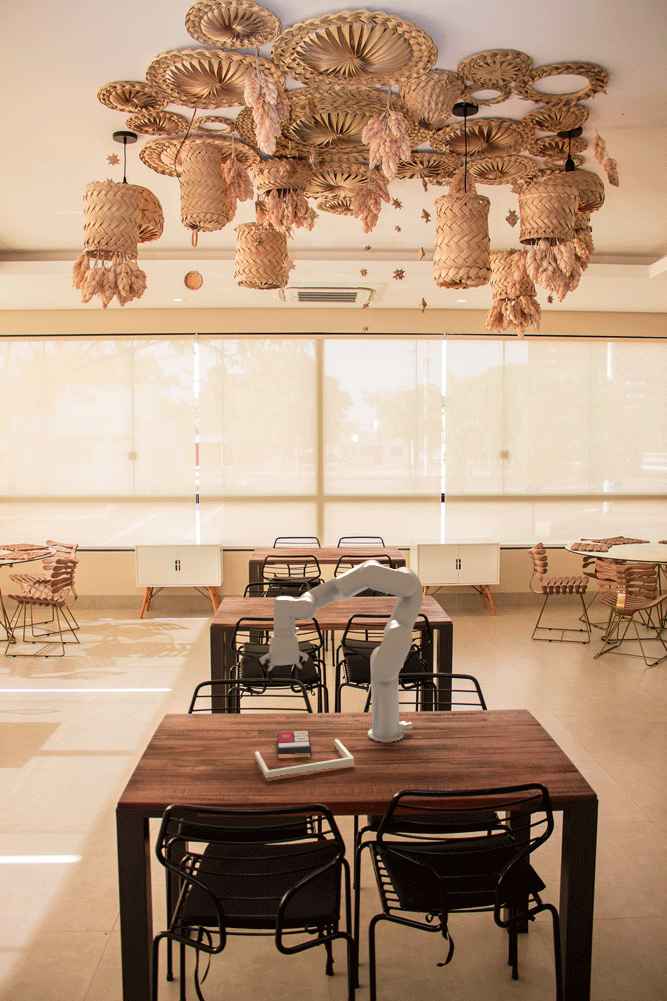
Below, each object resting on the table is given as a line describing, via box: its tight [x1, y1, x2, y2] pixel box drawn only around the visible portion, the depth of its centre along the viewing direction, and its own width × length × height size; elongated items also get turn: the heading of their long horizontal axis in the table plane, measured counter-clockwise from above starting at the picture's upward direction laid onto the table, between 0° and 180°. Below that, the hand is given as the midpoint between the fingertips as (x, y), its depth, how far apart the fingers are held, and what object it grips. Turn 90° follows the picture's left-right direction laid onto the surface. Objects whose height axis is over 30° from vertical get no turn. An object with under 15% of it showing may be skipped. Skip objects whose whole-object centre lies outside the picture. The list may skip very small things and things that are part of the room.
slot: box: [254, 738, 355, 778], centre depth 228 cm, size 28×16×3 cm, turn 108°
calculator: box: [276, 730, 312, 754], centre depth 240 cm, size 11×4×15 cm
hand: (284, 680), depth 249 cm, fingers open, 9 cm apart
